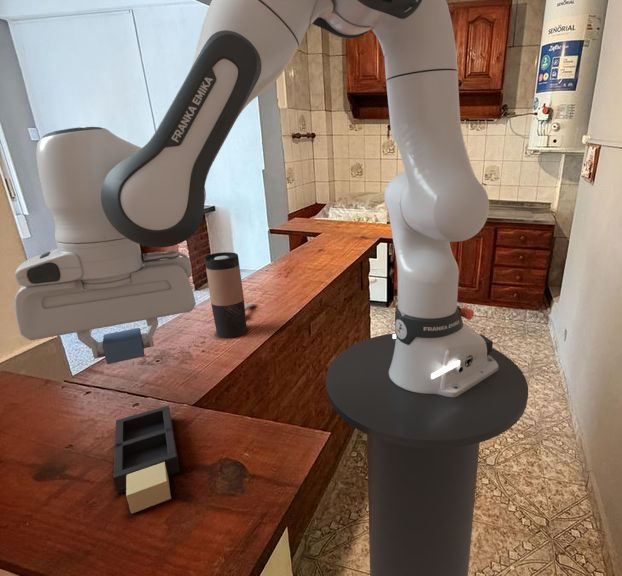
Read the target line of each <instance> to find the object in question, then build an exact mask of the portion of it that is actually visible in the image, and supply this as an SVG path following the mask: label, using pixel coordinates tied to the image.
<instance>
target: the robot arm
mask: <svg viewBox="0 0 622 576" xmlns="http://www.w3.org/2000/svg"><path fill="white" fill-rule="evenodd" d="M312 25H314V26H316V27H318V28H320V29H323V30H325V31H326V32H328V33H329V34H331V35H333V36H335V37H338V38H341V39H347V40H348V39H349V40H350V39H356V38H361V37H362V36H364V35H366V34H368V32H370V31H372V33H373V34H374V35H375V37H376V38H377V40H378V42H379V45H380V47H381V51H382V54H383V57H384V73H385V83H386V85H385V86H386V94H387V105H388V115H389V125H390V133H391V137H392V139H393V141H394V142H395V144H396V145H397V150H398V151H399V155H400V157H401V160H402V164H403V168H404V171H401V172H400V173H398V174H396V175H394V176H393V177H392V178H391V179H390V181H389V182H388V183H387V185H386V186H385V190H384V193H383V194H384V195H383V200H384V201H383V202H384V206H385V208H386V211H387V213H388V217H389V222H390V229H391V236H392V243H393V247H394V254H395V260H396V269H397V304H396V306H395V307H394V331H395V332H394V333H396V334H393V339H395V338H396V342H395V349H394V354H393V359H392V363H391V366H390V369H389V377H390V379H391V380H392V381H393V382H394V383H395V384H396V385H398V386H399V387H401V388H403V389H406V390H409V391H412V392H416V393H424V394H439V395H443V396H447V397H457V396H459V395H460V394H462V393H464V392H465V391H467V390H468V389H470V388H471V387H473V386H475V385H476V384H478V383H479V382H481V381H482V380H484V379H485V378H487V377H489V376H490V375H492V374H493V373H495V372H496V371H498V364H497V362H496V361H495V360H494V359H493V358H492V357H491V356H490V355H489V353H490V352H492V348H493V346H494V341H493V340H491V339H489V338H488V337H486V336H485V335H483V334H482V333H478V332H477V331H475V330H474V329H472V328H471V327H469V326H468V325H467V324H465V322H463V318H465V319H466V320H468V321H470V320H472V319H473V317H474V315H475V311H474V310H473V309H471V308H468V307H467V306H464V307H462V308H461V306H460V305H458V296H459V294H458V293H459V275H460V270H459V269H460V268H459V265H458V263H457V261H456V259H455V256H454V253H453V251H452V247H451V243H453V242H454V243H455V242H465V241H467V240H470V239H472V238H473V237H475V236H476V235H477V234H479V232H480V231H482V229H483V228H484V226H485V224H486V222H487V221H488V216H489V213H490V212H489V211H490V199H489V196H488V193H487V191H486V189H485V187H484V185H482V184H481V182H480V180H478V177H476V174H475V172H474V170H473V167H472V164H471V160H470V157H469V154H468V150H467V147H466V143H465V139H464V135H463V130H462V129H463V128H462V123H461V110H460V92H459V91H460V90H459V72H458V71H459V70H458V69H459V68H458V55H457V46H456V39H455V31H454V27H453V20H452V17H451V12H450V8H449V4H448V2H447V0H210V3H209V6H208V7H207V11H206V13H205V17H204V19H203V22H202V25H201V28H200V33H199V37H198V41H197V44H196V47H195V53H194V56H193V60H192V63H191V66H190V69H189V72H188V73H187V75H186V77H185V79H184V81H183V83H182V84H181V86H180V88H179V90H178V92H177V94H176V95H175V97H174V99H173V100H172V103H171V104H170V106H169V108H168V109H167V111H166V113H165V115H164V116H163V118H162V120H161V121H160V124H159V125H158V127H157V128H156V130H155V132H154V134H153V135H152V136H151V137H150V139H149V141H148V142H147V143H146V144H145V145H144V146H143V147H141V146H139V145H136V144H133V143H131V142H129V141H127V140H125V139H123V138H121V137H119V136H118V135H116V134H115V133H113V132H112V131H110V130H109V129H107V128H104V127H101V126H86V127H80V126H79V127H70V128H65V129H59V130H55V131H52V132H48V133H46V134H44V135H43V136H42V137H41V138H40V139H39V140H38V141H37V143H36V155H35V156H36V165H37V166H36V167H37V172H38V177H39V182H40V187H41V188H40V189H41V192H42V195H43V200H44V203H45V207H46V208H47V210H48V212H49V213H50V214H51V217H52V218H53V221H54V222H53V223H54V226H55V227H54V241H55V245H56V248H55V249H52V250H49V251H47V252H44V253H41V254H38V255H35V256H33V257H30V258H28V259H27V260H25V261H23V262H22V263H21V264H20V265H19V266H17V268H16V270H15V271H14V278H15V280H16V283H17V284H18V285H19V286H21V287H19V289H18V291H17V292H16V294H15V297H14V313H15V318H16V324H17V328H18V332H19V334H20V335H21V336H23V337H24V338H26V339H27V340H30V341H36V340H41V339H48V338H53V337H59V336H63V335H70V334H75V333H76V335H77V339H78V340H79V341H80V342H81V343H82V344H84V345H85V346H87V347H88V348H89V349H91V352H92V356H93V359H100V358H105V354H104V350H103V346H102V345H103V340H102V341H97V340H96V339H95V338H94V337H93V336H92V332H93V331H92V330H97V329H102V328H109V327H114V326H119V325H124V324H129V323H136V322H142V321H146V325H147V326H148V328H147V330H146V332H143V333H141V340H142V345H143V348H144V349H149V348H151V347H152V348H153V347H155V343H154V338H153V337H154V335H155V333H156V330H157V328H158V327H159V320H158V318H163V317H169V316H175V315H180V314H185V313H190V312H192V311H193V310H194V308H195V307H196V304H197V303H196V299H195V295H194V290H193V288H192V285H191V282H190V280H189V279H190V278H191V276H192V274H193V268H192V262H191V259H190V257H189V256H188V255H187V254H186V253H183V252H178V250H167V251H164V252H163V251H161V252H159V251H158V252H145V253H142V251H141V246H145V247H149V248H157V249H158V248H169V247H174V246H177V245H179V244H181V243H184V242H186V241H187V240H189V239H190V238H191V237H192V236H193V235H194V234H195V233H196V232H197V230H198V229H199V228H200V226H201V224H202V221H203V219H204V214H205V204H206V197H207V193H206V192H207V191H206V182H207V179H208V175H209V172H210V170H211V168H212V166H213V163H214V162H215V160H216V158H217V156H218V154H219V152H220V150H221V149H222V147H223V145H224V143H225V141H226V139H227V138H228V136H229V134H230V132H231V130H232V129H233V127H234V125H235V123H236V121H237V119H238V118H239V117H240V115H241V113H242V112H243V111H244V109H246V107H247V106H248V105H249V104H250V103H251V102H252V101H254V99H256V98H257V97H259V96H260V95H262V94H264V93H265V92H267V91H268V90H269V89H270V88H271V87H272V86H273V85H274V84H275V82H276V81H277V80H278V79H279V78H280V77H281V76H282V74H283V73H284V71H285V70H286V69H287V67H288V66H289V64H290V63H291V61H292V60H293V58H294V57H295V55H296V53H297V51H298V50H299V48H300V46H301V44H302V42H303V40H304V38H305V36H306V34H307V33H308V31H309V29H310V28H311V26H312Z"/></svg>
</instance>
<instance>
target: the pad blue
mask: <svg viewBox="0 0 622 576" xmlns="http://www.w3.org/2000/svg"><path fill="white" fill-rule="evenodd" d="M141 334H142V331H141V328H140V327H137V328H131V329H126V330H121V331H116V332H109V333H104V334H103V338H102V341H103V345H102V346H103V350H104V354H105V357H104V359H105V362H106V365H111V364H115V363H120V362H124V361H129V360H135V359H139V358H143V357H145V348H143V345H142V340H141Z"/></svg>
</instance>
